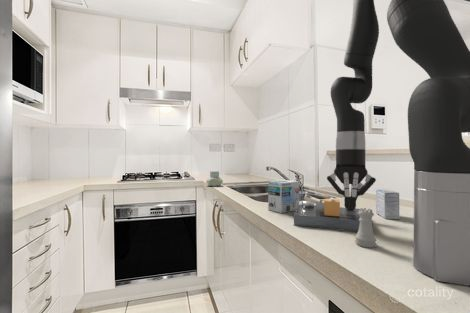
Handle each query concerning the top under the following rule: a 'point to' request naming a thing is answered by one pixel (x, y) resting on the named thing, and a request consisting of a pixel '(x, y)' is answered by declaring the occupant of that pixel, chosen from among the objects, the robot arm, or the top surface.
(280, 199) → the light bulb box
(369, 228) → the rook chess piece
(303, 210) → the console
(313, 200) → the rocker paddle
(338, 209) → the slider knob
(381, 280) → the top surface
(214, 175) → the air freshener
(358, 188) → the lever
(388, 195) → the medicine box
